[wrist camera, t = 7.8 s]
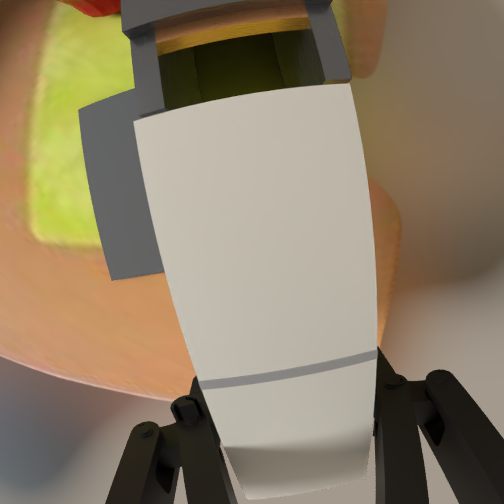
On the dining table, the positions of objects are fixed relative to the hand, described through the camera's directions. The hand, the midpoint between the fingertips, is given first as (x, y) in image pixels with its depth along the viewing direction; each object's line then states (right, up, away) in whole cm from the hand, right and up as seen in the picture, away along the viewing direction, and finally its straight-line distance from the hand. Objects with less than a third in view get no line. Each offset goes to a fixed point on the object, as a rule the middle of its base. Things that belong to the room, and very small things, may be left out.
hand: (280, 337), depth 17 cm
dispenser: (-3, +21, +5) cm, 21 cm away
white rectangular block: (-1, +4, 0) cm, 4 cm away
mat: (-11, +11, +7) cm, 17 cm away
